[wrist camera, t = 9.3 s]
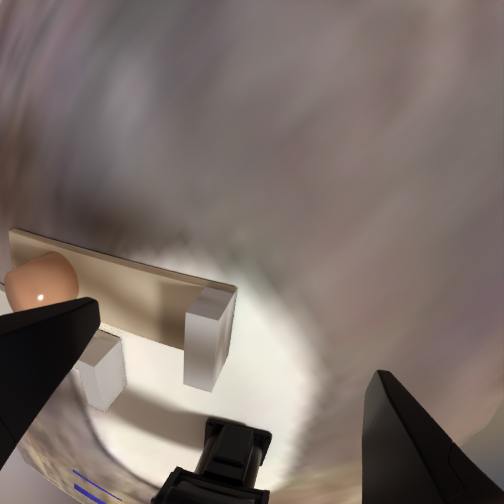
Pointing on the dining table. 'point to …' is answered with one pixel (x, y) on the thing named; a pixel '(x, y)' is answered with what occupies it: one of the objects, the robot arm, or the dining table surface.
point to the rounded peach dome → (41, 282)
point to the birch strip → (149, 303)
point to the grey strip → (95, 365)
